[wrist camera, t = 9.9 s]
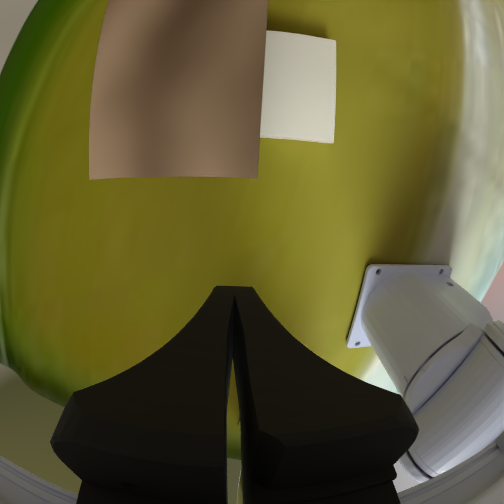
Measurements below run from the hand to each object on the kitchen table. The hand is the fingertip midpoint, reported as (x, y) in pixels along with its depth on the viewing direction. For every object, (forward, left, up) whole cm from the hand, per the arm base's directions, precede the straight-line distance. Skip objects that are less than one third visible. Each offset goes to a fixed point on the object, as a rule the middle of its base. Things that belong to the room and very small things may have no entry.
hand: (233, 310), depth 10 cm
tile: (0, -10, -10) cm, 14 cm away
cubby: (+3, -10, -9) cm, 14 cm away
